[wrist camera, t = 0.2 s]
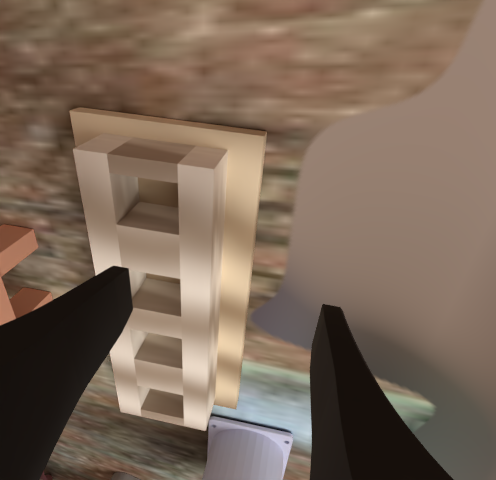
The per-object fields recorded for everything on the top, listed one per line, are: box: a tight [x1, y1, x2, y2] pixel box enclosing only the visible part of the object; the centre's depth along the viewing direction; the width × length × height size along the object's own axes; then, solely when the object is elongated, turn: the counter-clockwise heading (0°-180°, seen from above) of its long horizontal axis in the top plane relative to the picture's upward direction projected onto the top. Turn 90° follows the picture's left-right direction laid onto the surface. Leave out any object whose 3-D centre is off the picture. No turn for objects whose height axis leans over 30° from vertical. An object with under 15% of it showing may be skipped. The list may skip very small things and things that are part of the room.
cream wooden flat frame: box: [70, 107, 267, 431], centre depth 25 cm, size 24×11×4 cm, turn 175°
